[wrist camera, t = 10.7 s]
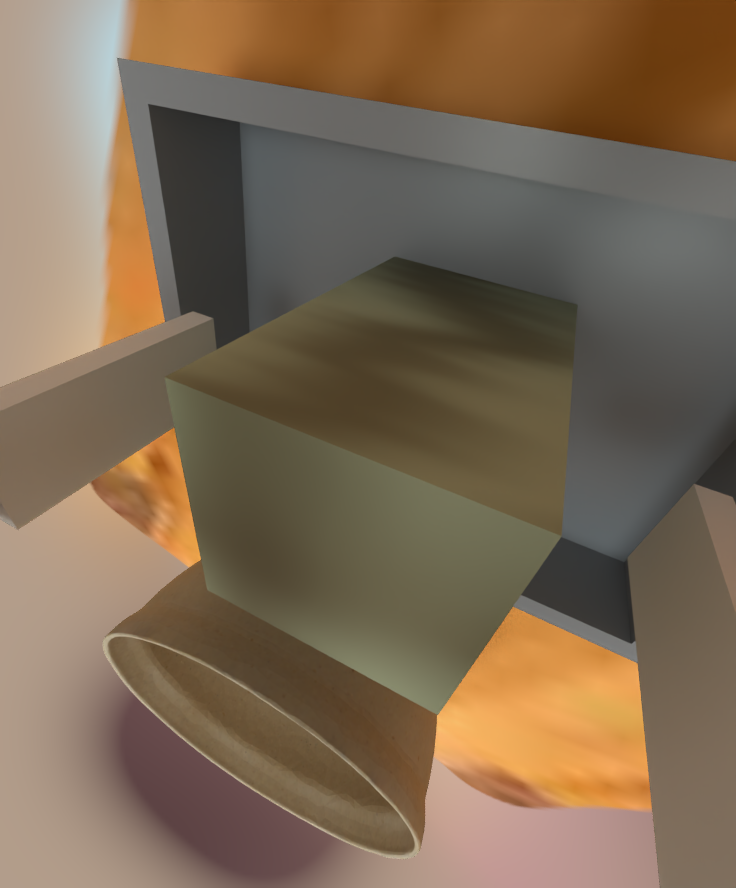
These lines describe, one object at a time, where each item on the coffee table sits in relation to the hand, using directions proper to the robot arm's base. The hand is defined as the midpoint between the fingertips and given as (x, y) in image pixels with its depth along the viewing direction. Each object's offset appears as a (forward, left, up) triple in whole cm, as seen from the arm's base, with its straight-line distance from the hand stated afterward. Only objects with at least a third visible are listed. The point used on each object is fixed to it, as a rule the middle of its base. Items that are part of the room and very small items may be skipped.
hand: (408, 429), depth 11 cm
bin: (0, 0, -6) cm, 6 cm away
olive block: (0, 0, -5) cm, 5 cm away
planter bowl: (+2, +16, -6) cm, 17 cm away
